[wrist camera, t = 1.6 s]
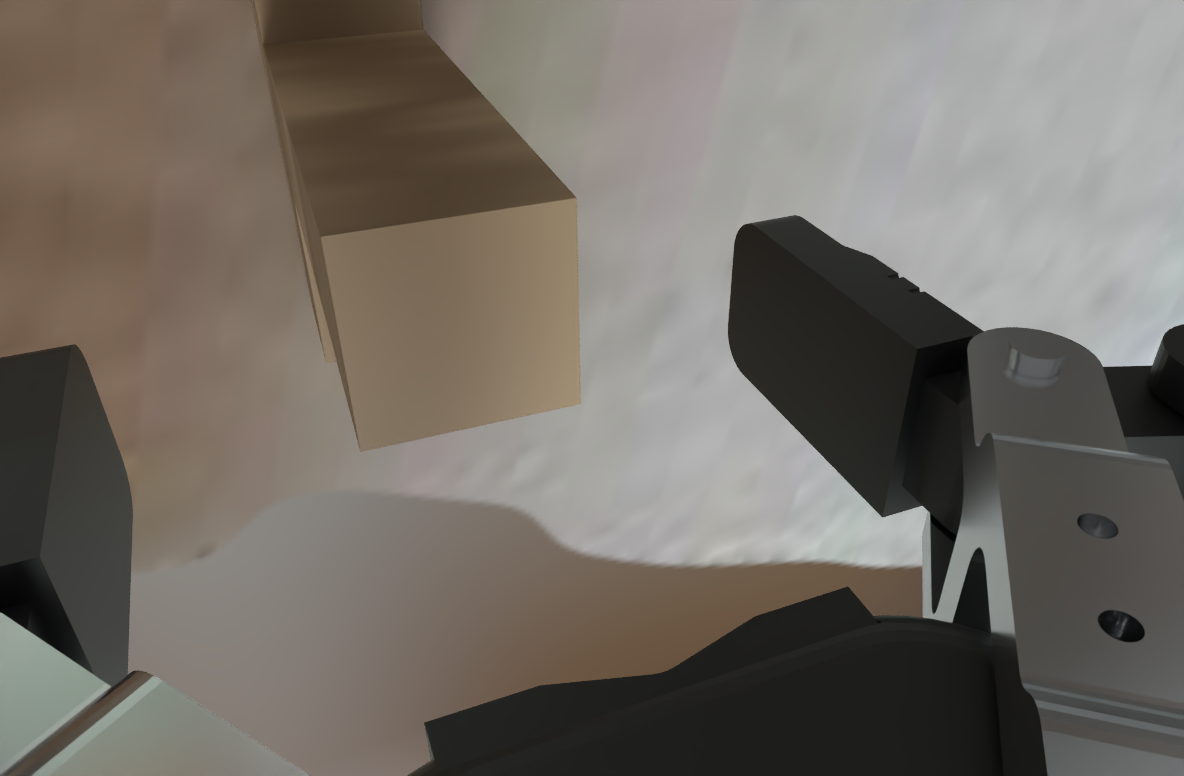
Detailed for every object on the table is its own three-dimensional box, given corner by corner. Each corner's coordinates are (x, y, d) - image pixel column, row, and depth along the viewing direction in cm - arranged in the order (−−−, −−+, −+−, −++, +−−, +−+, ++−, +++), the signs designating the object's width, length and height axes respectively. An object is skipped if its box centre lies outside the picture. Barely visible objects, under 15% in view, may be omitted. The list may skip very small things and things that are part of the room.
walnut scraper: (369, -219, 18) (567, -197, 9) (429, 283, 24) (585, 607, 15) (207, -216, 18) (241, -188, 8) (311, 303, 24) (399, 659, 14)
